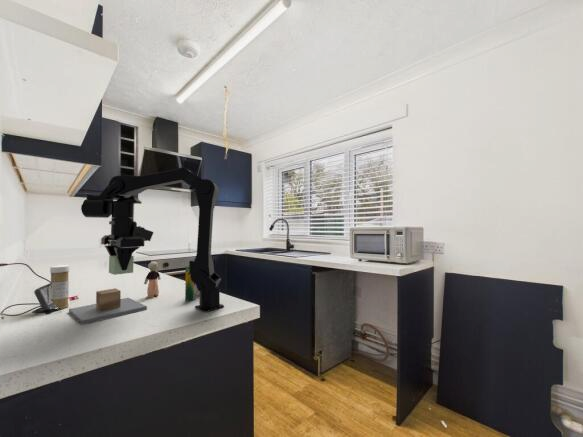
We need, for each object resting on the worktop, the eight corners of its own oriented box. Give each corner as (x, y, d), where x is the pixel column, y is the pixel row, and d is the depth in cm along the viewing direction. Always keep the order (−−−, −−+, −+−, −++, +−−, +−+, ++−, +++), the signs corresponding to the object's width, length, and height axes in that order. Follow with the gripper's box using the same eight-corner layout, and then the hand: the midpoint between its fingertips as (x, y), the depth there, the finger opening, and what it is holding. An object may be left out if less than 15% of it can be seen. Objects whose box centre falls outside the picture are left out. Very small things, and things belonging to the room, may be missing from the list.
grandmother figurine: (152, 299, 94) (152, 263, 94) (142, 299, 94) (142, 263, 94) (163, 293, 101) (163, 260, 102) (153, 293, 102) (153, 260, 102)
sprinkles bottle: (54, 306, 86) (54, 265, 86) (71, 305, 87) (71, 264, 88) (46, 311, 82) (47, 267, 82) (64, 309, 83) (65, 266, 83)
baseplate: (146, 309, 82) (146, 306, 82) (82, 324, 70) (82, 320, 70) (128, 300, 92) (128, 297, 92) (68, 312, 80) (68, 309, 80)
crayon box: (193, 300, 91) (193, 266, 91) (184, 300, 91) (184, 266, 91) (201, 295, 98) (201, 263, 99) (193, 295, 98) (193, 263, 99)
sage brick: (133, 272, 81) (133, 256, 81) (114, 274, 77) (114, 257, 77) (127, 270, 84) (127, 254, 84) (108, 272, 80) (109, 256, 80)
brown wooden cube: (120, 307, 81) (120, 290, 81) (100, 311, 77) (101, 293, 78) (115, 304, 84) (115, 288, 85) (96, 307, 81) (96, 291, 81)
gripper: (163, 218, 81) (161, 269, 81) (139, 219, 93) (137, 263, 93) (122, 217, 73) (120, 274, 72) (101, 218, 85) (99, 267, 84)
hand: (121, 269), depth 81 cm, fingers closed on sage brick, 5 cm apart
